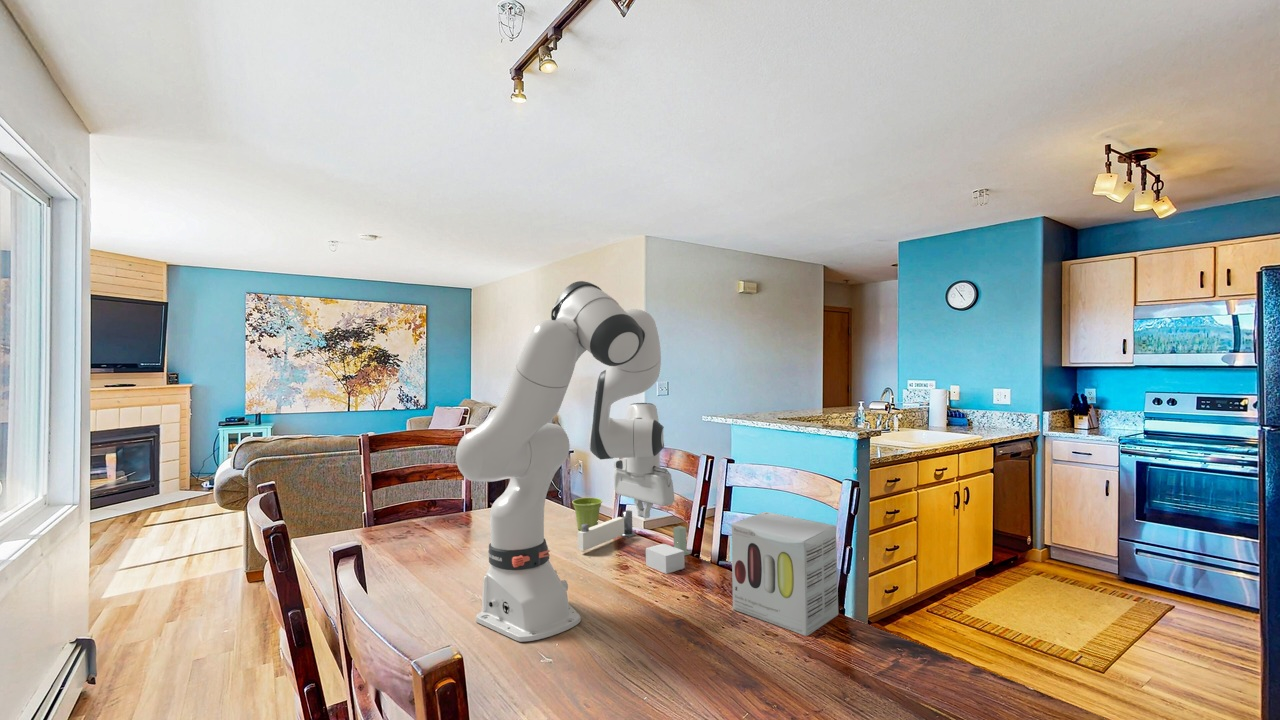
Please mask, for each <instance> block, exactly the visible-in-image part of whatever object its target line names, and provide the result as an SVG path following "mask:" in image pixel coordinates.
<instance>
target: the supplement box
mask: <svg viewBox="0 0 1280 720" xmlns="http://www.w3.org/2000/svg"><path fill="white" fill-rule="evenodd" d="M837 548H838V547H837V526H836V525H835V524H831V523H830V524H829V523H826V522H825V523H824V522H819V521H814V520H811V519H810V520H809V519H804V518H801V517H800V518H799V517H794V516H789V515H784V514H779V513H775V512H774V513H773V512H768V511H764V512H761V513H757V514H754V515H751V516H748V517H746V518H742V519H741V520H738V521H735V522H733V523H731V569H732V573H731V575H732V576H731V577H732V579H731V580H732V582H731V583H732V610H733V611H737V612H740V613H743V614H745V615H748V616H750V617H753V618H755V619H757V620H761V621H764V622H767V623H770V624H772V625H775V626H778V627H780V628H783V629H784V630H785V629H786V630H788V631H792V632H794V633H797V634H799V635H801V636H805V637H808V636H809V635H811V634H812V633H814V632H815V631H816V630H818V629H820V628H821V627H823V626H824V625H826V624H827V623H829V622H831V620H833V619H834V618H836V617H838V615H839V596H838V595H839V592H838V591H839V589H838V554H837V553H838V552H837V551H838V549H837Z"/></svg>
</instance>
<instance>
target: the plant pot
mask: <svg viewBox="0 0 1280 720" xmlns="http://www.w3.org/2000/svg"><path fill="white" fill-rule="evenodd" d="M602 503H603V500H602V499H601V498H598V497H581V498H576V499H575V498H574V499H573V500H572V501H571V504H573V508H574V511H575V519H576V526H577V530H579V531H581V525H582V524H588V525H589V528H590V527H593V526H595V525H598V524H599V518H600V515H599V514H600V508H601V504H602ZM597 521H598V522H597Z"/></svg>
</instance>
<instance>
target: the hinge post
mask: <svg viewBox="0 0 1280 720" xmlns="http://www.w3.org/2000/svg"><path fill="white" fill-rule="evenodd" d="M622 518H624V535H621V536H620V537H622V538H633V537H635V536H636V532H635V531H633V511H632V510H628V509H627V510H623V511H622Z"/></svg>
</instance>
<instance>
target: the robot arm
mask: <svg viewBox="0 0 1280 720" xmlns="http://www.w3.org/2000/svg"><path fill="white" fill-rule="evenodd" d="M550 317H551V318H550V319H548V320H543V321H541V322H539V323H537V324H536V325H535V327H534V328H533V330H532V331H531V332H530V334H529V336H528V338H527V340H526V342H525V343H524V346H523V347H522V351H521V352H520V355H519V357H518V360H517V362H516V365H515V369H514V371H513V374H512V377H511V380H510V383H509V385H508V387H507V390H506V393H505V395H504V397H503V398H502V399H501V401H500V403H499V404H498V405H497V406H496V408H494V410H493V412H492V413H491V414H490V415H489V416H487V418H486V419H485V420H484V421H483V422H482V423H480V424H479V425H478V426H476V428H474V429H473V430H471V431H469V432H468V433H465V435H463V436H462V437H461V438H460V440H459V441H458V444H457V447H456V451H455V462H456V465H457V468H458V470H459V472H460V474H461V475H462V476H463V477H464V478H465V479H466V480H468V481H470V482H483V483H484V482H486V483H490V482H491V483H493V482H498V481H503V480H507V479H509V482H508V485H507V487H506V488H505V490H504V492H503V493H502V494H501V495H500V496H499V497H497V498H496V499H495V501H494V502H493V503H492V504H491V508H490V511H489V518H490V519H489V520H490V521H489V524H490V526H489V527H490V543H489V544H488V552H487V556H488V563H489V564H490V565H489V566H488V570H487V572H486V574H485V575H484V577H483V583H482V597H481V599H482V600H481V601H482V602H481V611H479V613H477V614H476V616H475V622H476V623H478V624H480V625H481V626H484V627H486V628H488V629H491V630H493V631H495V632H497V633H499V634H501V635H504V636H506V637H508V638H510V639H512V640H515V641H516V642H525V643H526V642H532V641H538V640H542V639H545V638H549V637H553V636H555V635H558V634H560V633H564V632H565V631H567V630H570V629H571V628H574V627H575V626H577V625H578V624H579V623H580V622H581V621H582V617H581V615H580V614H579V612H578V611H577V610H576V609H574V607H572V605H571V604H570V603H569V598H568V589H569V585H568V582H567V580H566V579H563V580H561V579H560V576H559V575H558V572H557V570H556V569H554V567H553V565H552V564H551V562H550V553H549V552H550V551H551V550H549V547H548V544H547V541H546V538H545V533H544V532H545V504H546V498H547V494H548V491H549V488H550V485H551V482H553V481H552V480H553V478H554V477H555V474H556V473H557V472H558V470H559V469H560V468H561V467H562V465H563V464H564V463H566V460H567V459H568V456H569V454H570V445H571V444H570V439H569V436H568V434H567V432H566V431H565V429H564V428H563V427H562V426H561V425H559V424H558V423H551V421H552V420H554V418H556V416H557V415H558V413H559V412H560V409H561V406H562V404H563V401H564V398H565V395H566V393H567V390H568V387H569V385H570V382H571V379H572V377H573V375H574V372H575V368H576V363H577V362H578V360H579V358H580V357H581V356H582V355H583V354H584V353H585V352H586V351H587V352H589V353H590V354H591V355H592V357H593V358H594V359H596V361H599V362H600V363H601V364H604V365H606V366H608V367H606V369H605V370H603V371H601V372H600V373H599V375H598V378H597V382H596V383H597V384H596V390H595V397H594V403H593V405H594V406H593V414H592V422H591V423H592V424H591V427H590V430H589V434H588V446H589V450H590V452H591V453H592V454H593V455H594V456H595V457H596V458H598V459H599V460H608V459H609V460H610V459H615V460H614V461H613V468H614V469H615V470H614V476H613V482H614V491H615V493H616V495H618V496H623V497H627V498H629V499H633V501H634V502H633V503H634V505H635V507H636V510H637V516H638V517H641V518H643V519H648V518H650V516H651V510H652V508H653V505H657V506H661V507H666V506H671V505H673V504H674V502H675V492H674V491H675V490H674V485H673V484H674V483H673V479H672V474H671V473H670V471H668V469H667V468H665V467H663V468H662V467H660V466H661V460H660V459H661V457H660V456H661V455H660V453H661V451H662V450H663V449H664V448H665V442H664V426H663V425H662V424H661V423H660V421H659V415H658V409H657V405H655V404H653V403H650V402H634V403H631V404H629V405H628V406H627V410H626V418H611V417H610V413H611V407H612V404H614V403H616V402H617V401H620V400H622V399H625V398H628V397H633V396H635V395H640V394H642V393H644V392H647V390H649V389H650V388H652V386H654V385H655V384H656V382H657V381H658V379H659V377H660V373H661V365H662V363H661V361H662V359H661V358H662V356H661V352H662V351H661V342H660V341H661V340H660V336H659V333H658V332H659V331H658V327H657V324H656V321H655V319H654V317H653V316H652V315H651V314H650V313H648V311H645V310H642V309H637V308H636V309H635V308H633V309H632V308H631V309H627V310H625V309H624V308H623V307H622V306H621V305H620V304H619V303H618V302H617V300H615V299H614V298H613V297H612V296H610V295H609V294H608V293H606V292H605V291H603V290H602V288H600V287H599V286H597V285H595V284H594V283H591V282H589V281H586V280H585V281H583V280H579V281H574V282H572V283H571V284H569V285H568V286H566V287H565V288H564V290H563V291H562V292H561V293H560V294H559V296H558V298H557V300H556V302H555V305H554V306H553V307H552V309H551V314H550Z"/></svg>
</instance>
